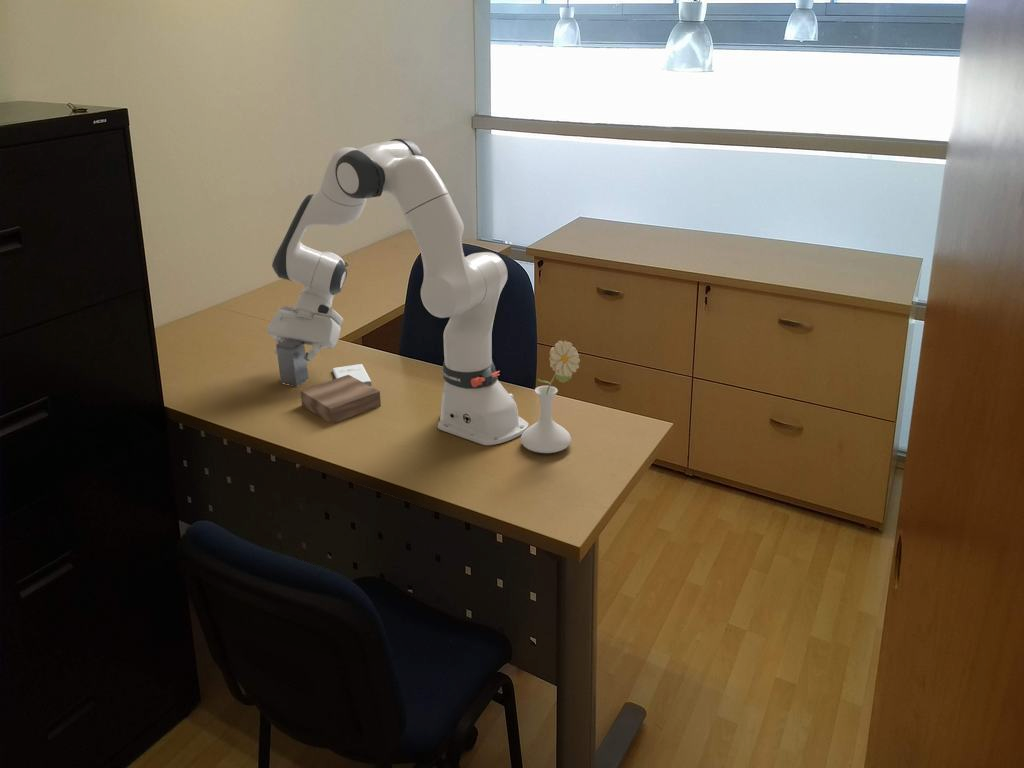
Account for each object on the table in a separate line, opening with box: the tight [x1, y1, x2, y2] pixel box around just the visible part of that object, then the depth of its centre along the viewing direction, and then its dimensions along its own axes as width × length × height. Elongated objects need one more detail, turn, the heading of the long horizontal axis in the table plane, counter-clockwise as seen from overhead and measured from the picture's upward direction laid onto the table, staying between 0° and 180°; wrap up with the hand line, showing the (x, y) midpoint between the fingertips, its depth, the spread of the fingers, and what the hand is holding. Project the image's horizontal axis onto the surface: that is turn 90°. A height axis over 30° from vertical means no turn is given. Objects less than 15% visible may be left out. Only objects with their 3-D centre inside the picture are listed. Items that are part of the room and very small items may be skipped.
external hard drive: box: [332, 363, 372, 386], centre depth 229 cm, size 2×8×12 cm
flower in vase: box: [520, 340, 581, 454], centre depth 189 cm, size 13×11×25 cm
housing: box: [275, 338, 309, 387], centre depth 225 cm, size 5×5×11 cm
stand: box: [299, 375, 382, 424], centre depth 213 cm, size 14×14×4 cm
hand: (292, 357), depth 224 cm, fingers open, 8 cm apart
